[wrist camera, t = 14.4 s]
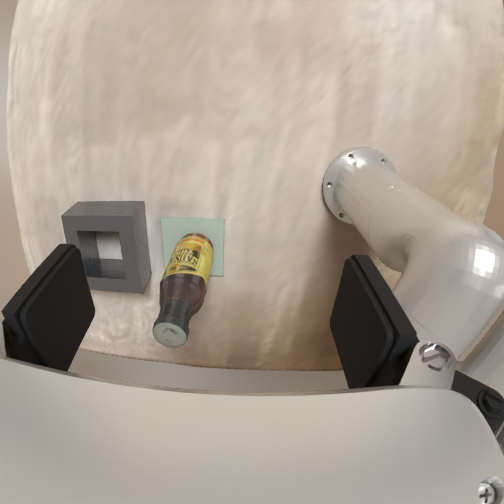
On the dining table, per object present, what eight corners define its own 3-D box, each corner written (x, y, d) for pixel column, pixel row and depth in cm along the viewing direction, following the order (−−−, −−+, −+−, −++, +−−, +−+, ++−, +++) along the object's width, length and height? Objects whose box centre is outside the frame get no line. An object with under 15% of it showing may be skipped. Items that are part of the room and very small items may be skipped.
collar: (144, 201, 46) (132, 215, 41) (151, 273, 53) (142, 293, 47) (78, 201, 46) (61, 215, 40) (90, 269, 52) (77, 287, 47)
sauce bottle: (205, 225, 48) (186, 307, 30) (220, 258, 51) (211, 347, 33) (168, 238, 49) (134, 321, 31) (184, 269, 52) (161, 358, 34)
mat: (224, 219, 48) (224, 221, 48) (223, 273, 53) (223, 275, 52) (162, 217, 48) (160, 219, 47) (166, 270, 53) (165, 273, 52)
